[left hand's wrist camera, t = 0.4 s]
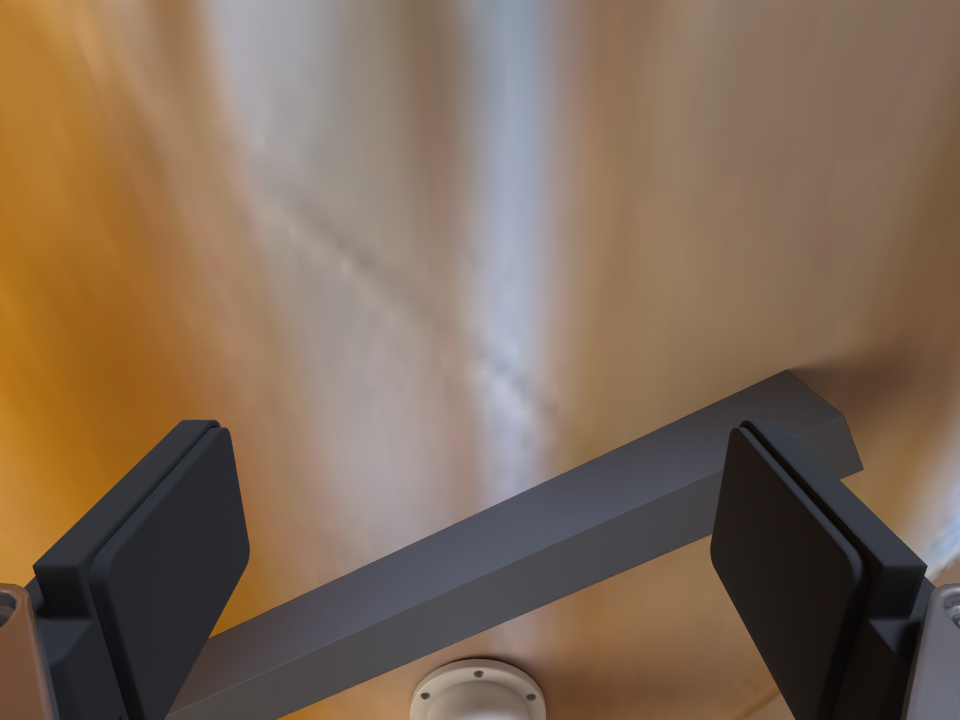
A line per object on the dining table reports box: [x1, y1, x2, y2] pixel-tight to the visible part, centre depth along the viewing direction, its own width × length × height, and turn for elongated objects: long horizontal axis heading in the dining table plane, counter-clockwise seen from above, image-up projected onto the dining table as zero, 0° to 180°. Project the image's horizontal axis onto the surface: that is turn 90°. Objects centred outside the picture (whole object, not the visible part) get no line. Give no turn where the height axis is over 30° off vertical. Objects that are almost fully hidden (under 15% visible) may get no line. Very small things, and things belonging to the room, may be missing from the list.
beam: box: [165, 370, 863, 720], centre depth 47 cm, size 69×4×7 cm, turn 119°
